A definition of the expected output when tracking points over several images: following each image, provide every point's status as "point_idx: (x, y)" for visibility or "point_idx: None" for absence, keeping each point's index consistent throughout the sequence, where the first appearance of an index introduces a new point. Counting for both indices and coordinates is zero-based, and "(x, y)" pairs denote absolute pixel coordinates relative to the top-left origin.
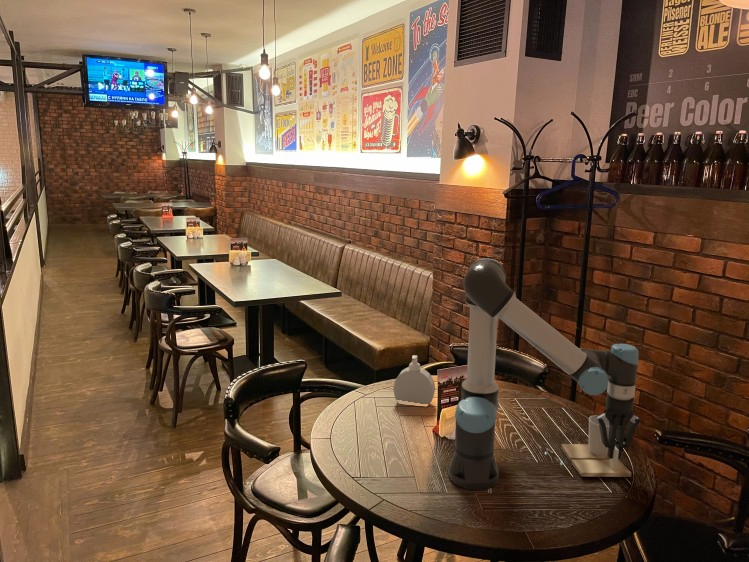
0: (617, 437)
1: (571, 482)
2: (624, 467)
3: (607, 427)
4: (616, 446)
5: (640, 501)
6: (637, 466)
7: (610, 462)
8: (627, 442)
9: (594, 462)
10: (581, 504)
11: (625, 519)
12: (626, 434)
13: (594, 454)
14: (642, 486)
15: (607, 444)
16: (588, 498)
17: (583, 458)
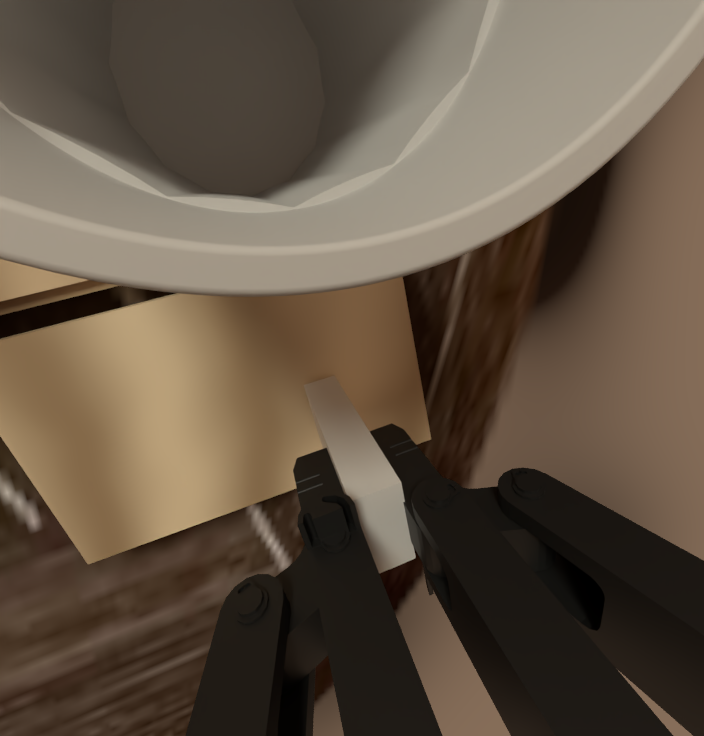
0: (490, 658)
1: (45, 586)
2: (407, 370)
3: (412, 257)
4: (411, 521)
5: (403, 576)
6: (498, 249)
7: (315, 418)
8: (570, 606)
9: (187, 352)
10: (138, 709)
11: (320, 692)
12: (687, 669)
13: (183, 175)
14: (449, 465)
15: (294, 694)
16: (169, 660)
17: (74, 283)
